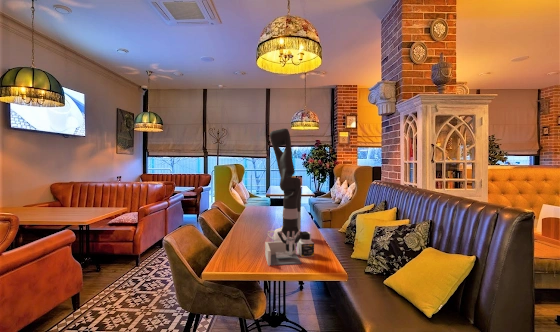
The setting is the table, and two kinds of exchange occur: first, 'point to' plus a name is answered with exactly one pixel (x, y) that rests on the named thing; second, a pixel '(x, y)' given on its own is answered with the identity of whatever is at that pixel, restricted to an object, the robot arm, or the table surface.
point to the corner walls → (275, 249)
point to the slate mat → (285, 260)
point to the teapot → (276, 236)
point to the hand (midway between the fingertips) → (290, 251)
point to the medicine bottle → (305, 245)
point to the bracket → (285, 254)
